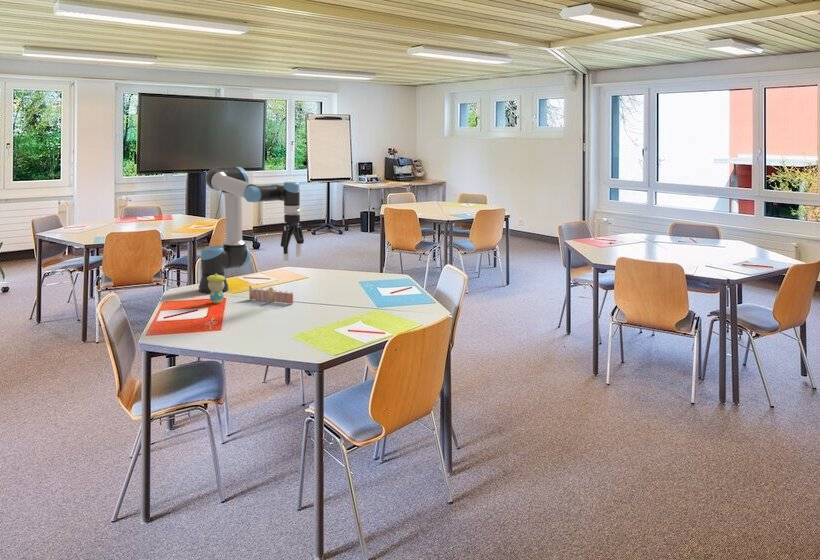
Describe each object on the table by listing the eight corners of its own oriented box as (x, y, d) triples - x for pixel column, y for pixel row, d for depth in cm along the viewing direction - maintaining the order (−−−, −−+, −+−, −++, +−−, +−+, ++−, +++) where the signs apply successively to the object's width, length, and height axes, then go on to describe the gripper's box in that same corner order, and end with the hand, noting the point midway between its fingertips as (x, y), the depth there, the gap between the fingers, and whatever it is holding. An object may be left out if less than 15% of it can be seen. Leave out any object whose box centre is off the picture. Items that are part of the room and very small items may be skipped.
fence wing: (273, 301, 329) (273, 289, 328) (275, 301, 330) (274, 289, 329) (292, 303, 326) (292, 291, 325) (293, 303, 327) (293, 291, 326)
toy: (217, 300, 332) (215, 271, 329) (229, 303, 327) (228, 273, 324) (204, 303, 326) (202, 273, 323) (216, 306, 321) (215, 276, 318)
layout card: (242, 305, 324) (242, 304, 324) (258, 299, 337) (258, 298, 337) (277, 309, 318) (277, 308, 317) (292, 303, 330) (292, 302, 330)
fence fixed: (275, 302, 331) (274, 287, 330) (272, 303, 329) (272, 288, 328) (251, 299, 336) (250, 284, 335) (248, 300, 334) (247, 285, 332)
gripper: (286, 216, 312) (287, 262, 316) (310, 212, 333) (311, 255, 338) (272, 215, 314) (273, 261, 319) (297, 211, 336) (298, 254, 340)
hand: (292, 258), depth 328 cm, fingers open, 11 cm apart
